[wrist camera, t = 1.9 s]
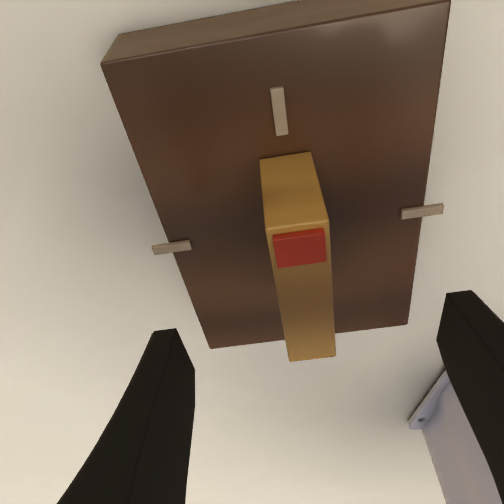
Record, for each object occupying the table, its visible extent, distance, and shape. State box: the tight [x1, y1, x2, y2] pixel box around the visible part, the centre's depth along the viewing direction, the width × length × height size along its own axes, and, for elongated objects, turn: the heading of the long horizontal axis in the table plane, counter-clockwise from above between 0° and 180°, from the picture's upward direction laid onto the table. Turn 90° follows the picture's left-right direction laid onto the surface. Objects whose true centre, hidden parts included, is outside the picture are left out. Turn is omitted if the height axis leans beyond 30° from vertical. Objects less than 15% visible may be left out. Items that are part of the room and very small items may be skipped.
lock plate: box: [100, 0, 451, 349], centre depth 16 cm, size 13×10×3 cm
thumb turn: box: [259, 152, 336, 362], centre depth 14 cm, size 6×2×4 cm, turn 9°
